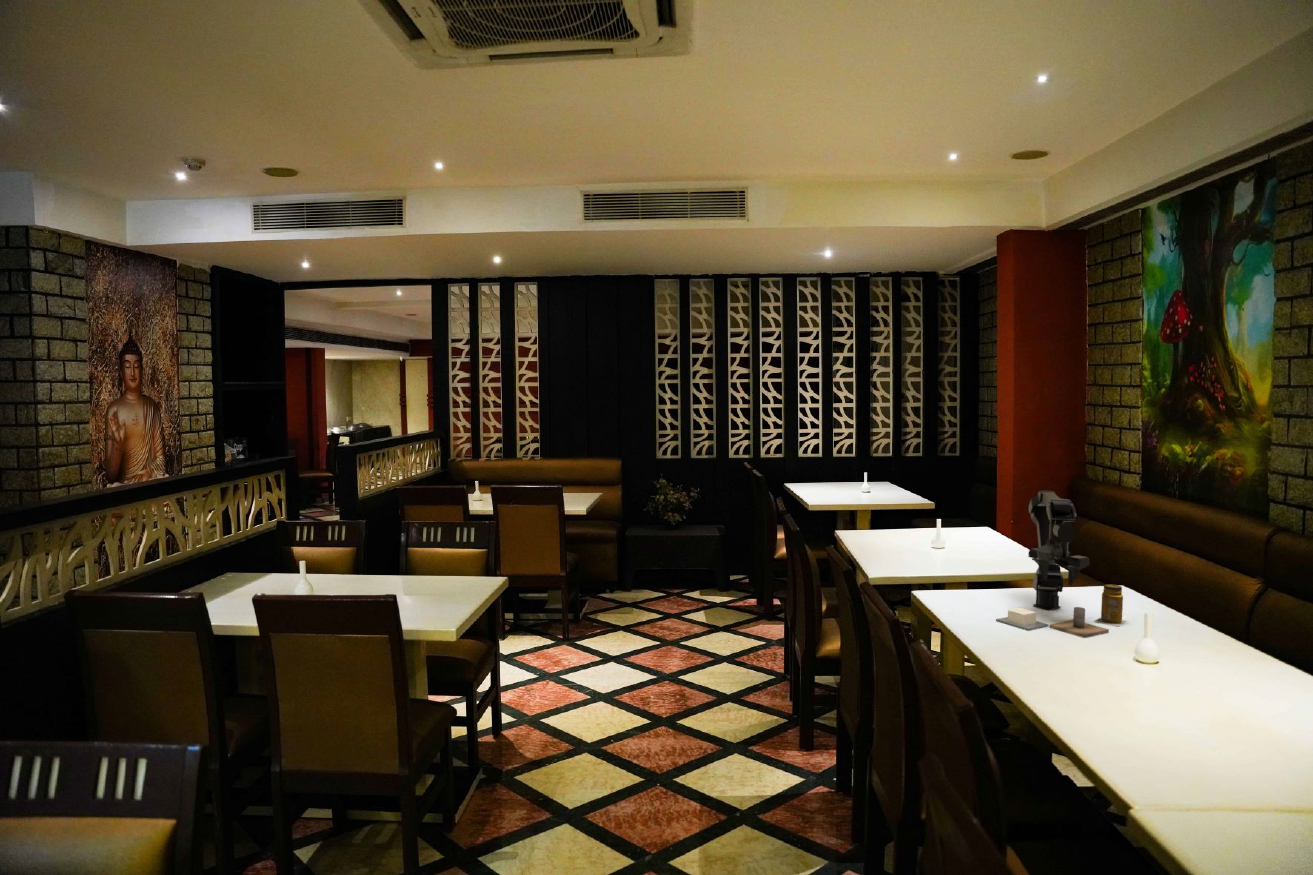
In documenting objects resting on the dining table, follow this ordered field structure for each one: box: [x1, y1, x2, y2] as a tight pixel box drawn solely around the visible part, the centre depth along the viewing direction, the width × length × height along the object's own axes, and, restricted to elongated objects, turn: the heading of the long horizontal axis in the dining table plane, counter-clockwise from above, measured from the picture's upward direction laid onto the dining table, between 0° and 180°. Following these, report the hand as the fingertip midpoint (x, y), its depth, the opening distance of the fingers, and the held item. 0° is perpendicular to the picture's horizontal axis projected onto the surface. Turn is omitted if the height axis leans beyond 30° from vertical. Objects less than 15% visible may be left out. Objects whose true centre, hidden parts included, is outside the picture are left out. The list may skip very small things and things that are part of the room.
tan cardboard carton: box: [1007, 607, 1037, 625], centre depth 257 cm, size 6×6×4 cm
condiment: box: [1094, 583, 1127, 627], centre depth 259 cm, size 7×8×12 cm
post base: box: [1048, 606, 1110, 639], centre depth 250 cm, size 12×12×7 cm
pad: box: [995, 616, 1050, 632], centre depth 257 cm, size 12×10×1 cm
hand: (1057, 582), depth 263 cm, fingers open, 9 cm apart
